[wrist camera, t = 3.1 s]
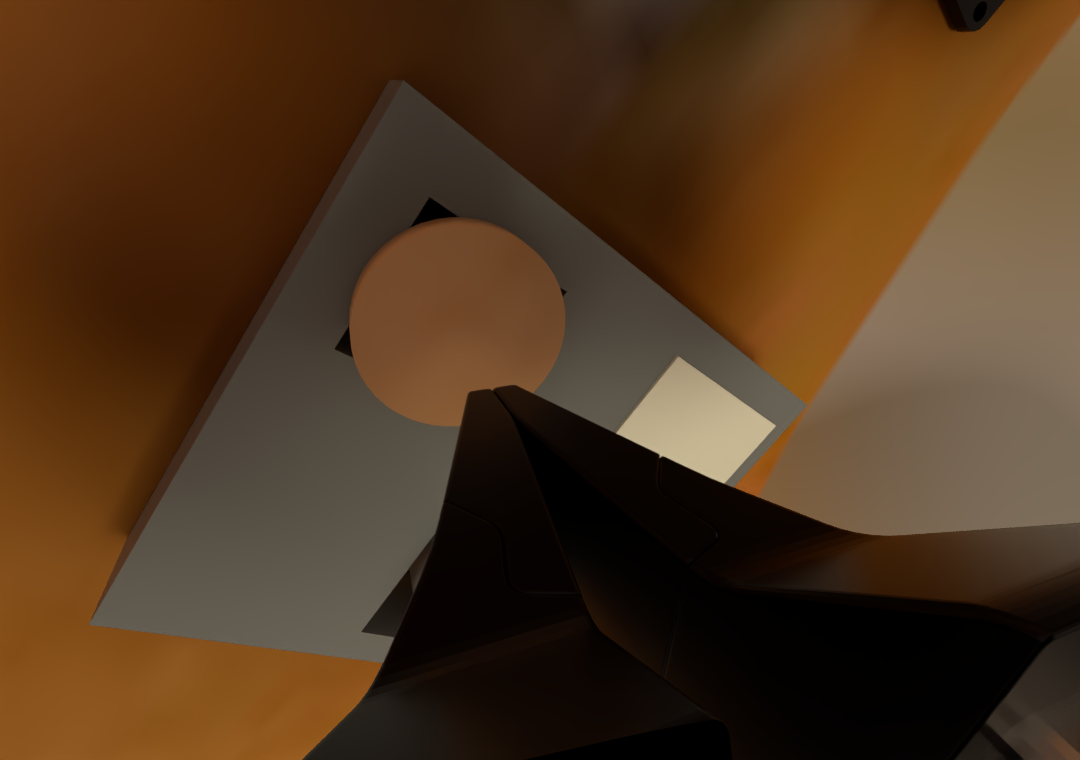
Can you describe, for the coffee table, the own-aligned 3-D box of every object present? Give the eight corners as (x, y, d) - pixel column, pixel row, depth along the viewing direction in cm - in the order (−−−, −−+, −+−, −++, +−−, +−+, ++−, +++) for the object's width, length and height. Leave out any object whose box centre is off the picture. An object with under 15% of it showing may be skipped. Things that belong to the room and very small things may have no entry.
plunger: (407, 152, 13) (430, 175, 10) (550, 256, 15) (604, 300, 12) (312, 310, 14) (306, 375, 11) (461, 383, 16) (489, 452, 13)
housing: (389, 79, 12) (404, 80, 10) (751, 366, 21) (809, 406, 18) (127, 537, 16) (87, 628, 13) (531, 623, 24) (555, 687, 21)
